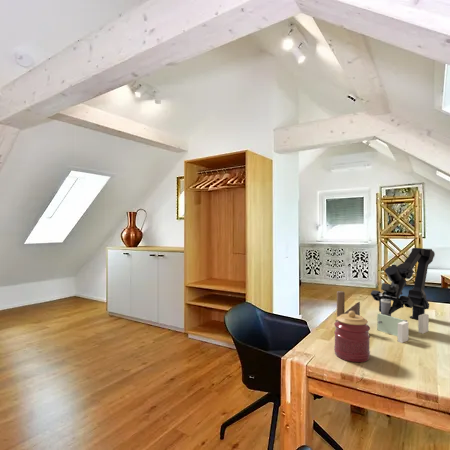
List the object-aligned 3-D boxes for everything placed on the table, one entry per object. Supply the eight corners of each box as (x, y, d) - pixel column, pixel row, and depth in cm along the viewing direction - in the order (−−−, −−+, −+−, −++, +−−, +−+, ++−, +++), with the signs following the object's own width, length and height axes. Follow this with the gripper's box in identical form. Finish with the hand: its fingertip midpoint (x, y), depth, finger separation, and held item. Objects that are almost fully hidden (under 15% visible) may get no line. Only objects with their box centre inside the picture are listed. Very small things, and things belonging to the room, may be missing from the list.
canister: (352, 365, 111) (352, 317, 111) (327, 351, 123) (327, 308, 123) (377, 359, 116) (377, 313, 116) (351, 346, 128) (351, 305, 128)
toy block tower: (357, 332, 145) (357, 295, 145) (335, 327, 152) (335, 291, 152) (359, 330, 148) (360, 293, 148) (338, 325, 155) (338, 290, 155)
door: (407, 338, 138) (408, 320, 138) (404, 339, 136) (404, 321, 136) (379, 329, 149) (379, 313, 149) (375, 330, 148) (375, 314, 148)
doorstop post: (381, 324, 153) (381, 298, 153) (391, 325, 150) (391, 299, 150) (380, 326, 149) (380, 300, 149) (390, 328, 147) (390, 301, 147)
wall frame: (423, 329, 149) (424, 313, 149) (428, 331, 147) (428, 314, 147) (397, 341, 134) (397, 323, 134) (402, 342, 133) (402, 324, 133)
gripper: (372, 274, 160) (360, 298, 154) (409, 280, 144) (397, 307, 138) (381, 287, 164) (369, 311, 158) (418, 294, 148) (406, 321, 142)
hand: (384, 312), depth 149 cm, fingers closed on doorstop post, 4 cm apart
